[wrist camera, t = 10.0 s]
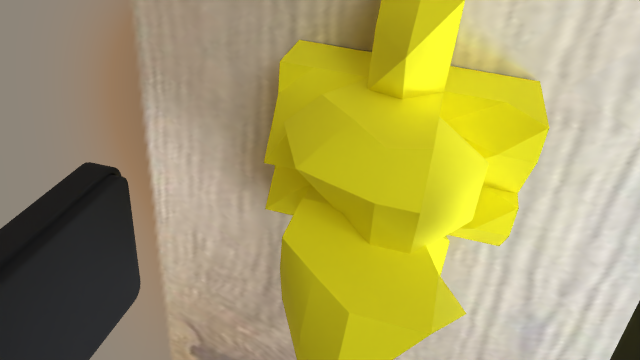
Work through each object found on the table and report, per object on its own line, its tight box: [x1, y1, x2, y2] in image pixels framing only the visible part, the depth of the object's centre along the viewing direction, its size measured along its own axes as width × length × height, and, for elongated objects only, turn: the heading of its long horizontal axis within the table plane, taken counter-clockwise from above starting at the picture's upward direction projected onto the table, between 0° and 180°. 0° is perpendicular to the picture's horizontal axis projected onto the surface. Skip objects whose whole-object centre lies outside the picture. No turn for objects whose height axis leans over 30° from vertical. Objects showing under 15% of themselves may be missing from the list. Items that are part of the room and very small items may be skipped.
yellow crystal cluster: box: [264, 0, 549, 360], centre depth 11 cm, size 6×8×8 cm
